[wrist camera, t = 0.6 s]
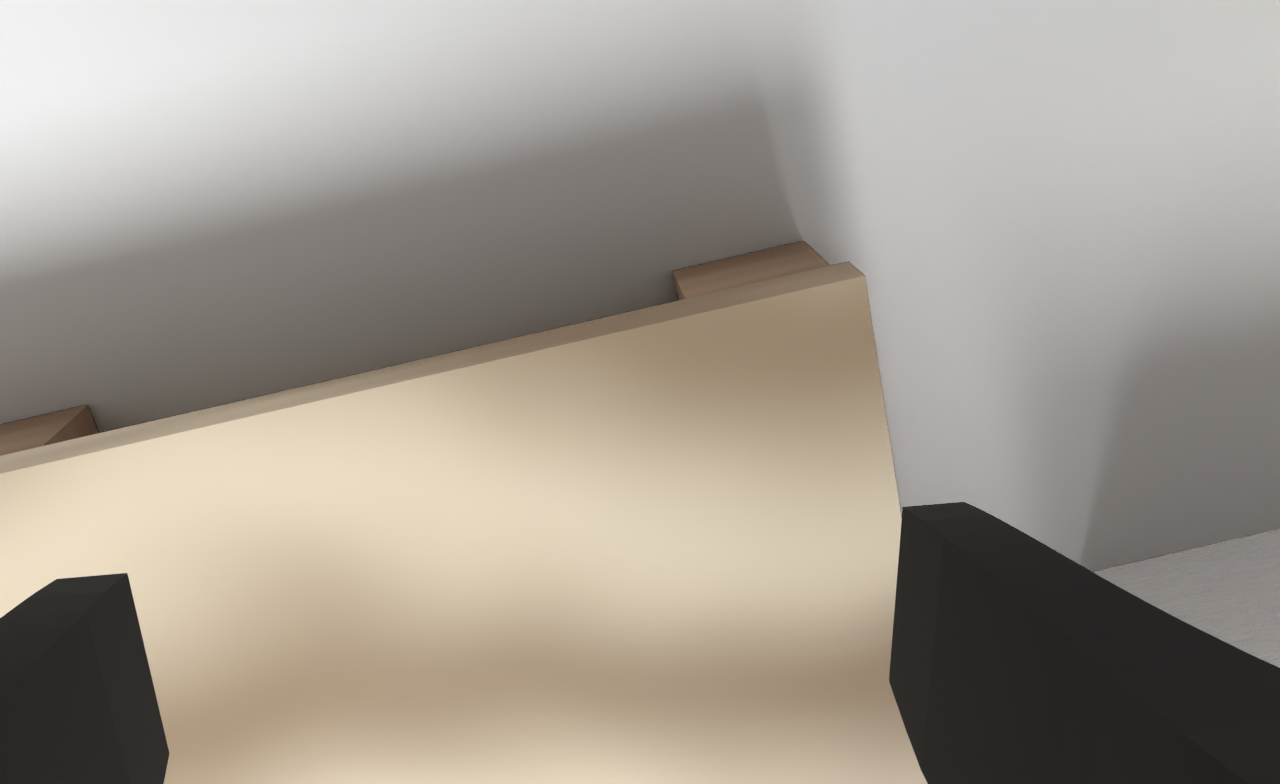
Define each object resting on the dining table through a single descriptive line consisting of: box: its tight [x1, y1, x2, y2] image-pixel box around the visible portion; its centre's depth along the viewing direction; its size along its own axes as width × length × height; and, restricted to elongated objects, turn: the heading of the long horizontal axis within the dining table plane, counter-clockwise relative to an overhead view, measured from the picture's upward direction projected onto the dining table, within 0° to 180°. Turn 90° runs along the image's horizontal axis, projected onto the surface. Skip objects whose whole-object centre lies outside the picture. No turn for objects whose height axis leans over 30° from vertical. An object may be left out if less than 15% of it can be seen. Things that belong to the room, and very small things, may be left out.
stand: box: [0, 241, 928, 784], centre depth 21 cm, size 12×16×3 cm
